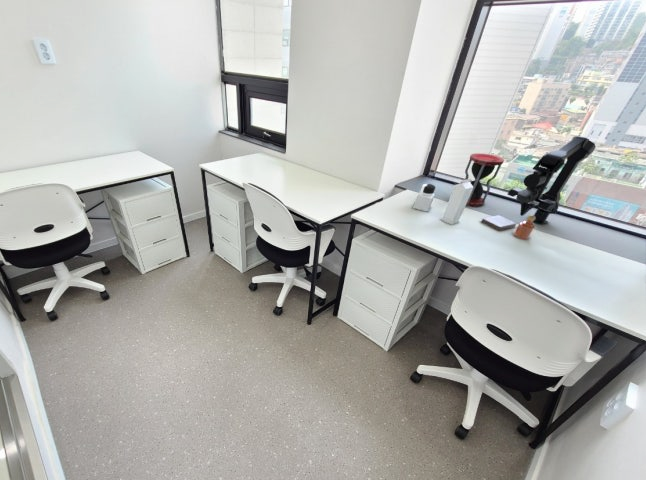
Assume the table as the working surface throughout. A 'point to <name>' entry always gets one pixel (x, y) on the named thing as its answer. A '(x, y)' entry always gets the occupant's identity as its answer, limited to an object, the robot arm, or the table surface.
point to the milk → (457, 202)
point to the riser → (498, 222)
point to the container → (425, 197)
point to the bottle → (525, 228)
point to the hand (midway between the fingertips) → (521, 215)
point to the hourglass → (481, 175)
